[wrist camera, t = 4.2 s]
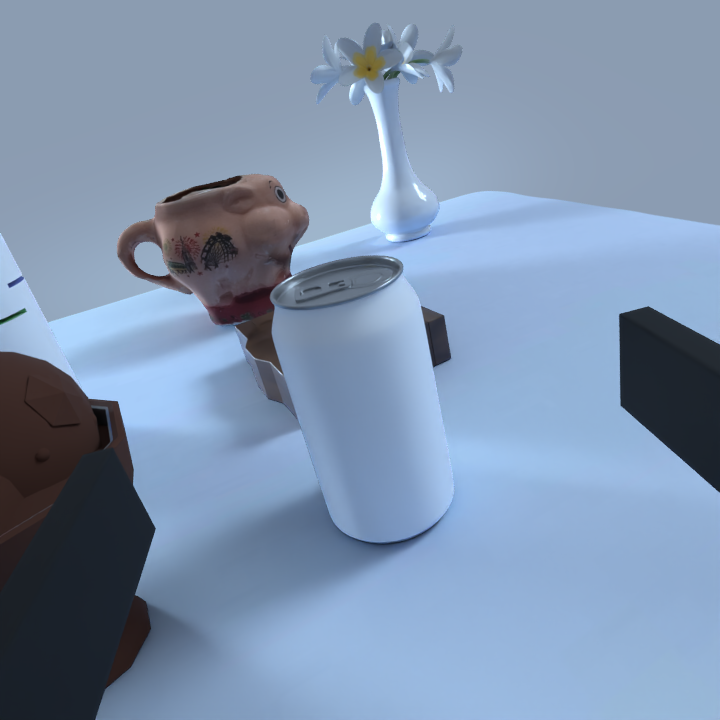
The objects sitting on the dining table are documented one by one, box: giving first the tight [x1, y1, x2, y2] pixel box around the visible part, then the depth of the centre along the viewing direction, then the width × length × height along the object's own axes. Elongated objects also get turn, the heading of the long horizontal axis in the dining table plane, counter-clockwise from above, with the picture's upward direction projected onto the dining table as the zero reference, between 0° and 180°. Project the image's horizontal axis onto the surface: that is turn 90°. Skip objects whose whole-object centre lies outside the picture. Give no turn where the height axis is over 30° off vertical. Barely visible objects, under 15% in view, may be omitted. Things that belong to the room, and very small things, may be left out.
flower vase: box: [311, 23, 462, 242], centre depth 68 cm, size 13×18×25 cm
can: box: [270, 255, 454, 544], centre depth 25 cm, size 6×6×12 cm
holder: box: [235, 306, 451, 419], centre depth 42 cm, size 13×14×4 cm
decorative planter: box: [117, 174, 309, 326], centre depth 56 cm, size 20×12×14 cm, turn 100°
